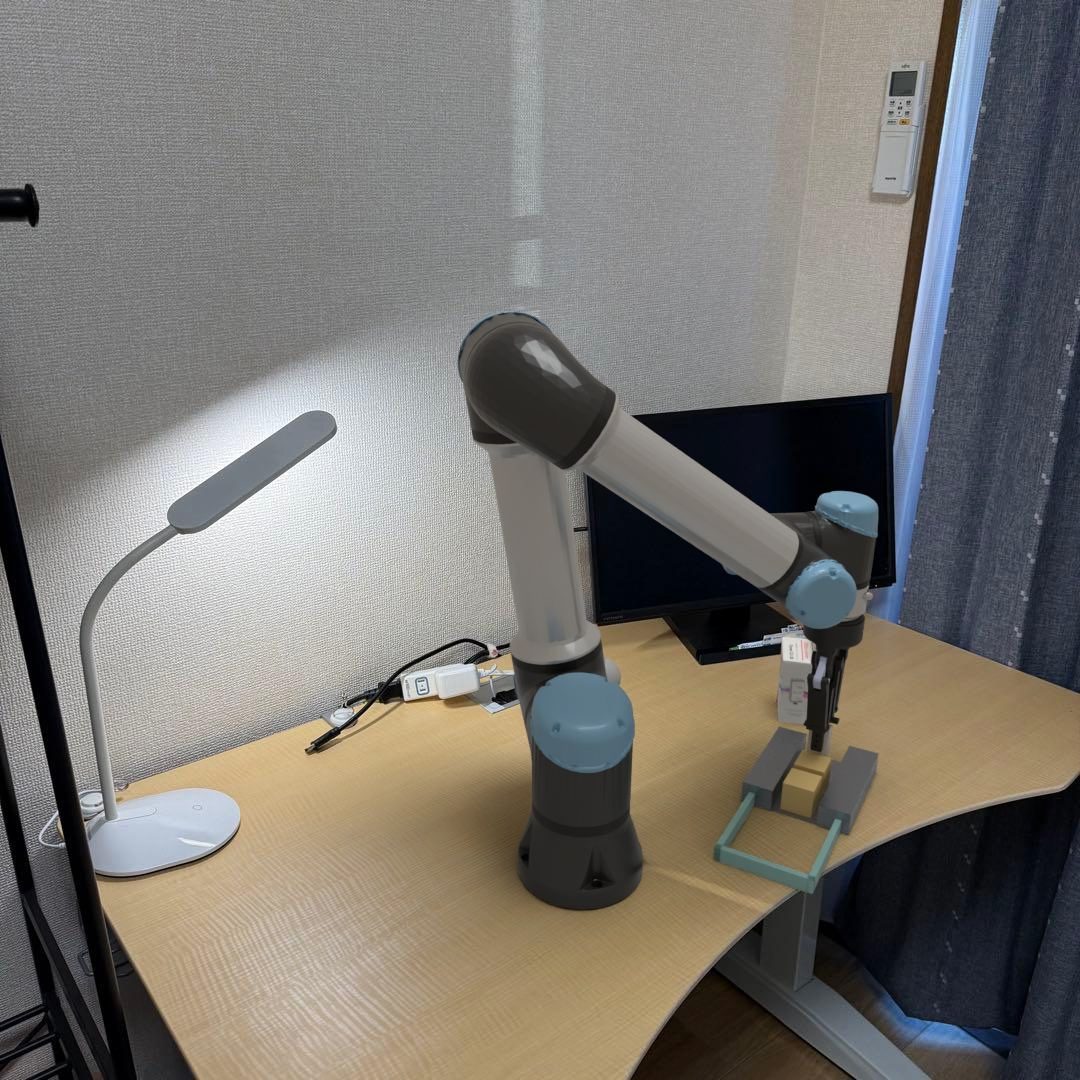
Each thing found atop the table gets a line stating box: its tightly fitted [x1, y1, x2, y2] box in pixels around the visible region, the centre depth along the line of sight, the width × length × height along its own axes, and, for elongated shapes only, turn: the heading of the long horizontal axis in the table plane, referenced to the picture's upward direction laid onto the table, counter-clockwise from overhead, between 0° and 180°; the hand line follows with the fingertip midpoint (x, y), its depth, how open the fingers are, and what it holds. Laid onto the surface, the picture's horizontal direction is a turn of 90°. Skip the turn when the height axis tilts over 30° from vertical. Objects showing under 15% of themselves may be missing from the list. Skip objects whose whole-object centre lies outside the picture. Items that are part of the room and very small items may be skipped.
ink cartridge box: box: [776, 636, 817, 725], centre depth 147 cm, size 9×5×15 cm, turn 168°
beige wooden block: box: [794, 749, 833, 798], centre depth 129 cm, size 4×4×4 cm
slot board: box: [740, 726, 880, 836], centre depth 130 cm, size 16×14×4 cm
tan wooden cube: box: [780, 768, 822, 818], centre depth 125 cm, size 4×4×4 cm
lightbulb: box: [604, 657, 622, 686], centre depth 146 cm, size 6×6×11 cm
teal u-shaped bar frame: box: [713, 792, 842, 895], centre depth 118 cm, size 13×12×3 cm
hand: (816, 766), depth 132 cm, fingers closed
